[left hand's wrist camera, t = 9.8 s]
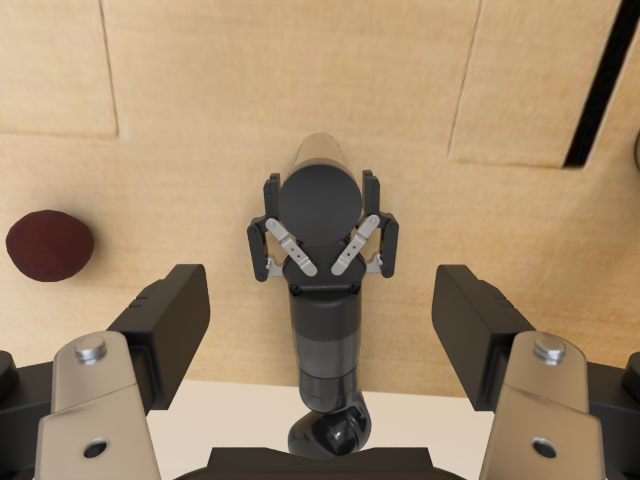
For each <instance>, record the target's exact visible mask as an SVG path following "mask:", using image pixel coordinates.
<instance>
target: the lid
mask: <svg viewBox="0 0 640 480" xmlns="http://www.w3.org/2000/svg"><path fill="white" fill-rule="evenodd" d="M278 211H279V215H280V218H281V221H282V223H283V224H284V226H285V227H286V229H287V230H288V231H289V232H290V233H291V234H292V235H293V236H294V237H296V238H297V239H299V240H301V241H303V242H306V243H309V244H314V245H326V244H331V243H334V242H337V241H339V240H341V239H343V238H344V237H346V236H347V235H348V234H349V233H350V232H351V231H352V230H353V229H354V227H355V226H356V224H357V223H358V221H359V218H360V215H361V211H362V198H361V193H360V190H359V188H358V185H357V183H356V181H355V179H354V177H353V175H352V174H351V172H350V171H349V170H348V169H347V168H346V167H345V166H344V165H342V164H341V163H339V162H337V161H335V160H332V159H328V158H312V159H308V160H305V161H303V162H301V163H299V164H298V165H296V166H295V167H294V168H293V169H292V170H291V171H290V172H289V173H288V175H287V177H286V178H285V181H284V183H283V185H282V188H281V190H280V193H279V198H278Z"/></svg>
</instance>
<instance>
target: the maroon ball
mask: <svg viewBox="0 0 640 480" xmlns="http://www.w3.org/2000/svg"><path fill="white" fill-rule="evenodd" d="M6 247H7V252H8V254H9V256H10V257H11V259H12V261H13V263H14V264H15V265H16V267H17V268H18V269H19V270H20V272H22V273H23V274H24V275H26V276H27V277H29V278H31V279H34V280H36V281H41V282H57V281H61V280H64V279H67V278H70V277H72V276H73V275H75V274H76V273H78V272H79V271H80V270H81V269H82V268H83V267H84V266H85V265H86V263H87V262H88V260H89V259H90V257H91V254H92V252H93V247H94V241H93V236H92V234H91V233H90V231H89V230H88V228H87V227H86V226H85V225H84V224H82V223H81V222H80V221H79V220H77V219H76V218H74V217H72V216H70V215H68V214H66V213H64V212H59V211H53V210H43V211H38V212H32V213H29V214H28V215H26V216H24V217H23V218H21V219H20V220H19V221H17V222H16V223H15V224H14V225H13V226H12V227H11V228H10V230H9V233H8V235H7V237H6Z"/></svg>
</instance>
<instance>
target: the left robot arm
mask: <svg viewBox="0 0 640 480" xmlns="http://www.w3.org/2000/svg"><path fill="white" fill-rule="evenodd" d="M209 321H210V303H209V295H208V288H207V280H206V272H205V268H204V266H203V265H202V264H177V265H176V266H175V267H174V268H173V269H172V270H171V272H170V273H169V274H168V275H167V276H166V277H165V279H159V280H158V281H156V282H154V283H152V284H151V285H149V286H147V287H145V288H144V289H143V290H142V291H141V293H140V294H139V295H138V296H137V297H136V299H134V300H133V301H132V302H131V303H130V305H129V307H128V308H126V309H125V310H124V311H123V312H122V313H121V314H120V315H119V317H118V318H117V319H116V320H115V321H114V322H113V323H112V324H111V325H110V326H109V327H108V329H107V330H106V331H100V332H95V333H90V334H87V335H84V336H82V337H79V338H77V339H75V340H73V341H71V342H69V343H68V344H66V345H65V346H64V347H62V348H61V349H60V350H59V351H58V352H57V354H56V355H55V357H54V360H53V361H51V362H46V363H41V364H36V365H31V366H26V367H21V368H16V366H15V363H14V361H13V358H12V355H11V354H10V353H8V352H6V351H1V350H0V480H32V479H33V478H34V480H161V476H160V472H159V468H158V464H157V460H156V456H155V452H154V448H153V444H152V440H151V436H150V432H149V428H148V424H147V420H146V416H147V415H148V413H149V411H150V410H168V408H169V406H170V404H171V402H172V400H173V398H174V396H175V394H176V392H177V390H178V388H179V386H180V384H181V382H182V380H183V378H184V376H185V374H186V371H187V369H188V367H189V365H190V363H191V361H192V359H193V357H194V355H195V353H196V351H197V349H198V347H199V345H200V343H201V341H202V339H203V336H204V334H205V332H206V330H207V328H208V325H209ZM432 322H433V326H434V329H435V331H436V333H437V335H438V337H439V339H440V341H441V343H442V345H443V347H444V349H445V351H446V353H447V355H448V357H449V360H450V362H451V364H452V366H453V368H454V370H455V372H456V374H457V376H458V378H459V380H460V382H461V384H462V386H463V388H464V390H465V392H466V394H467V396H468V398H469V400H470V402H471V404H472V406H473V408H474V410H475V411H493V412H494V414H495V416H494V420H493V424H492V428H491V432H490V436H489V440H488V444H487V448H486V452H485V456H484V460H483V464H482V468H481V472H480V476H479V480H606V478H607V479H608V480H640V352H636V353H633V354H632V355H631V356H630V358H629V360H628V363H627V365H626V368H625V369H622V368H617V367H612V366H607V365H602V364H597V363H592V362H588V361H587V360H586V357H585V355H584V354H583V352H582V351H581V350H580V349H579V348H578V347H576V346H575V345H574V344H572V343H571V342H569V341H567V340H565V339H563V338H561V337H558V336H556V335H553V334H550V333H545V332H540V331H536V329H535V328H534V327H533V326H532V325H531V324H530V323H529V322H528V321H527V320H526V319H525V318H524V317H523V315H522V314H521V313H520V312H519V311H518V310H517V309H516V308H514V306H513V305H512V304H511V302H510V301H509V300H506V297H505V296H504V295H503V294H502V293H501V292H500V291H499V290H498V288H496V287H494V286H492V285H491V284H489V283H487V282H485V281H484V280H478V279H477V278H476V277H475V275H474V274H473V273H472V272H471V271H470V270H469V268H468V267H467V266H466V265H439V266H438V268H437V272H436V280H435V287H434V295H433V303H432ZM174 480H466V479H464V478H462V477H460V476H458V475H456V474H454V473H451V472H448V471H445V470H443V469H440V468H436V467H433V464H432V461H431V458H430V455H429V451H428V448H427V447H425V448H424V447H422V448H421V447H416V448H415V447H414V448H413V447H403V448H402V447H398V448H397V447H393V448H392V447H389V448H387V447H383V448H382V447H379V448H378V447H376V448H371V449H367V450H363V451H359V452H355V453H351V454H347V455H343V456H339V457H335V458H331V459H327V460H313V459H309V458H305V457H301V456H297V455H293V454H289V453H285V452H281V451H277V450H273V449H269V448H264V447H258V448H257V447H251V448H250V447H248V448H247V447H245V448H244V447H240V448H239V447H231V448H228V447H227V448H225V447H222V448H221V447H218V448H217V447H213V448H212V451H211V454H210V458H209V461H208V464H207V467H204V468H200V469H197V470H194V471H192V472H189V473H186V474H184V475H182V476H180V477H178V478H176V479H174Z"/></svg>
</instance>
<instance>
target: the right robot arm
mask: <svg viewBox="0 0 640 480" xmlns="http://www.w3.org/2000/svg"><path fill="white" fill-rule="evenodd" d="M635 155H636V162H637V165H638V168H639V170H640V135H639V137H638V141H637V145H636V153H635ZM263 190H264V200H265V211H266V215H264V216H262V217H260V218H254V219H253V220H252V222H251V224H250V226H249V227H248V229H247V234H248V240H249V245H250V251H251V256H252V261H253V267H254V272H255V278H256V279H257V280H258V281H259V282H264V281H266V280H267V277H273V276H284V277H285V279H286V280H287V282H288V286H289V299H290V312H291V324H292V337H293V346H294V350H295V354H296V359H297V372H298V385H299V392H300V396H301V399H302V401H303V402H304V404H305V405H306V406H307V407H308V408H309V409H311V410H312V411H311V412H309V413H308V414H307V415H305V416H304V417H302V418H301V419H300V420H298V421H297V422H296V423H295V424H294V425H293V426H292V427H291V429H290V431H289V435H288V449H289V453H290V454H293V455H297V456H301V457H305V458H309V459H313V460H327V459H331V458H335V457H339V456H343V455H347V454H351V453H355V452H358V451H359V450H360V449H361V448H362V447H363V446H364V445H365V444H366V442H367V440H368V438H369V436H370V432H371V419H370V415H369V412H368V410H367V407H366V404H365V401H364V398H363V395H362V392H361V389H360V386H359V382H358V381H359V352H360V346H361V282H362V279H363V276H364V275H365V273H382V276H383V277H385V278H390V277H392V276H393V274H394V267H395V258H396V249H397V240H398V230H399V224H398V223H397V221H396V219H395V218H394V216H393V215H392V214H390V213H383V212H381V211H379V200H380V184H379V181H378V179H377V177H376V176H373V174H372V172H371V170H363V179H362V207H363V210H364V212H363V214H362V215H361V216H360V218H359V221H358V223H357V224H356V226H355V227H354V229H353V230H352V231H351V232H350V233H349V234H348V235H347V236H346V237H344V238H343V239H341V240H339V241H337V242H334V243H331V244H326V245H314V244H309V243H306V242H303V241H301V240H299V239H297V238H296V237H294V236H293V235H292V234H291V233H290V232H289V231H288V230H287V229H286V227H285V226H284V224H283V223H282V221H281V218H280V215H279V211H278V198H279V193H280V190H281V184H280V174H279V173H272V174H271V175H270V180H267V181H266V182H265V185H264V188H263ZM376 227H378V228H381V235H380V246H379V251H375V252H374V253H373V255H372V258H371V259H370V260H368V261H365V259H364V258H363V257H362V255H361V254H360V253H359V251H360V250H361V248H362V247H363V246H364V245H365V243H366V241H367V239H368V237H369V236H370V234H371V233H372V232H373V231H374V229H375V228H376ZM267 231H270V232H271V233H272V234H273V235H274V236H275V238H276V239H277V240H278V241H279V243H280V245H281V246H282V248H283V249H284V250H285V251H286V252H287V253H288V254H289V255H288V256H287V258H286V259H285V261H284V263H283V264H280V263H278V262H277V261H276V258H275V257H274V256H273V255H269V253H268V247H267V241H266V235H265V232H267ZM354 246H355V247H354ZM292 248H293V249H292Z"/></svg>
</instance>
